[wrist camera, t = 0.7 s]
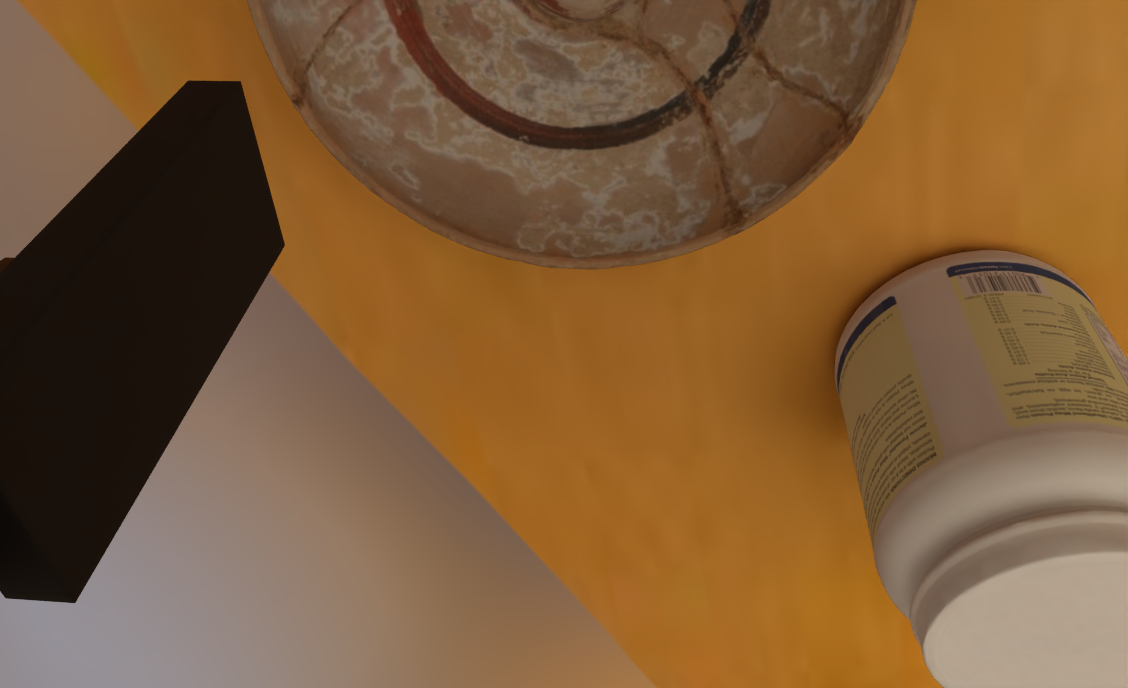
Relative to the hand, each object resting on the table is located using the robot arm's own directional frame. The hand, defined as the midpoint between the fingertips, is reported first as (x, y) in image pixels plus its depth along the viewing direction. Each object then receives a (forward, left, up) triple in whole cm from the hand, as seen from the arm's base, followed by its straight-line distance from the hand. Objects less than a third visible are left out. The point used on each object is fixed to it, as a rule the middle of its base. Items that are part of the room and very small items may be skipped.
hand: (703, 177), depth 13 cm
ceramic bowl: (+4, -4, -25) cm, 25 cm away
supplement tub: (+22, +15, -25) cm, 37 cm away
